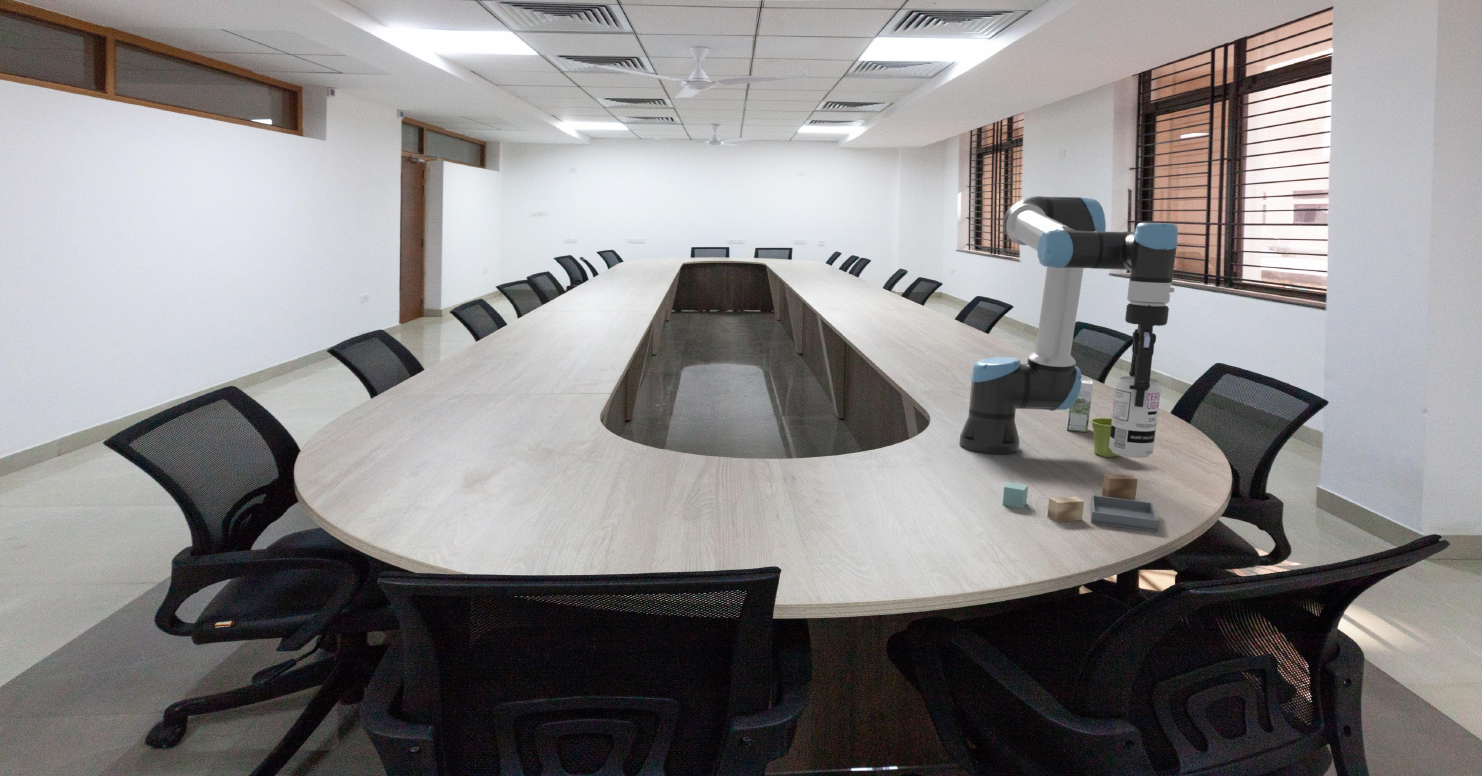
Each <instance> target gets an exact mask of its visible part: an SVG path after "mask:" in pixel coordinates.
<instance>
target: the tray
mask: <svg viewBox="0 0 1482 776" xmlns="http://www.w3.org/2000/svg"><path fill="white" fill-rule="evenodd" d="M1089 500H1090V501H1089V511H1090V512H1089V513H1090V523H1091V524H1095V525H1101V526H1103V525H1104V526H1110V527H1116V528H1117V527H1119V528H1126V529H1133V530H1141V531H1146V532H1147V531H1149V532H1154V533H1155V532H1156V533H1157V531H1158V524H1159V519H1158V515H1157V512H1156V509H1155V506H1154V502H1149V501H1143V500H1136V499H1135V500H1128V499H1120V498H1112V497H1104V496H1102V495H1094V494H1090V499H1089Z"/></svg>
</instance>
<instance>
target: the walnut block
mask: <svg viewBox="0 0 1482 776" xmlns="http://www.w3.org/2000/svg"><path fill="white" fill-rule="evenodd" d="M1138 479H1139V478H1137V477H1136V476H1134V475H1132V474H1111V473H1110V474H1104V477H1103V484H1102V492H1101V496H1104V497H1112V498H1120V499H1128V500H1136V495H1137V488H1138V481H1139V480H1138Z"/></svg>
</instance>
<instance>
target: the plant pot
mask: <svg viewBox="0 0 1482 776" xmlns="http://www.w3.org/2000/svg"><path fill="white" fill-rule="evenodd" d="M1090 423H1091V427H1092V429H1093V453H1094V454H1095V455H1099V456H1100V457H1105V458H1106V457H1108V458H1115V457H1117V458H1118V457H1119V456H1121V455H1117V454H1115V453H1113V452H1112V450H1111V449H1110V448H1109V441H1110V432H1111V424H1112V418H1110V417H1108V418H1107V417H1099V418H1098V417H1097V418H1092V419H1090Z"/></svg>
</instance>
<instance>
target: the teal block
mask: <svg viewBox="0 0 1482 776" xmlns="http://www.w3.org/2000/svg"><path fill="white" fill-rule="evenodd" d="M1028 492H1029V485H1028V484H1022V483H1021V484H1020V483H1014V482H1008V483H1006V484H1005V486H1004V488H1003V497H1002V505H1003V506H1009V507H1013V508H1018V509H1023V508H1024V507H1025V506H1026V505H1027V501H1028V500H1027V499H1028Z"/></svg>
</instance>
